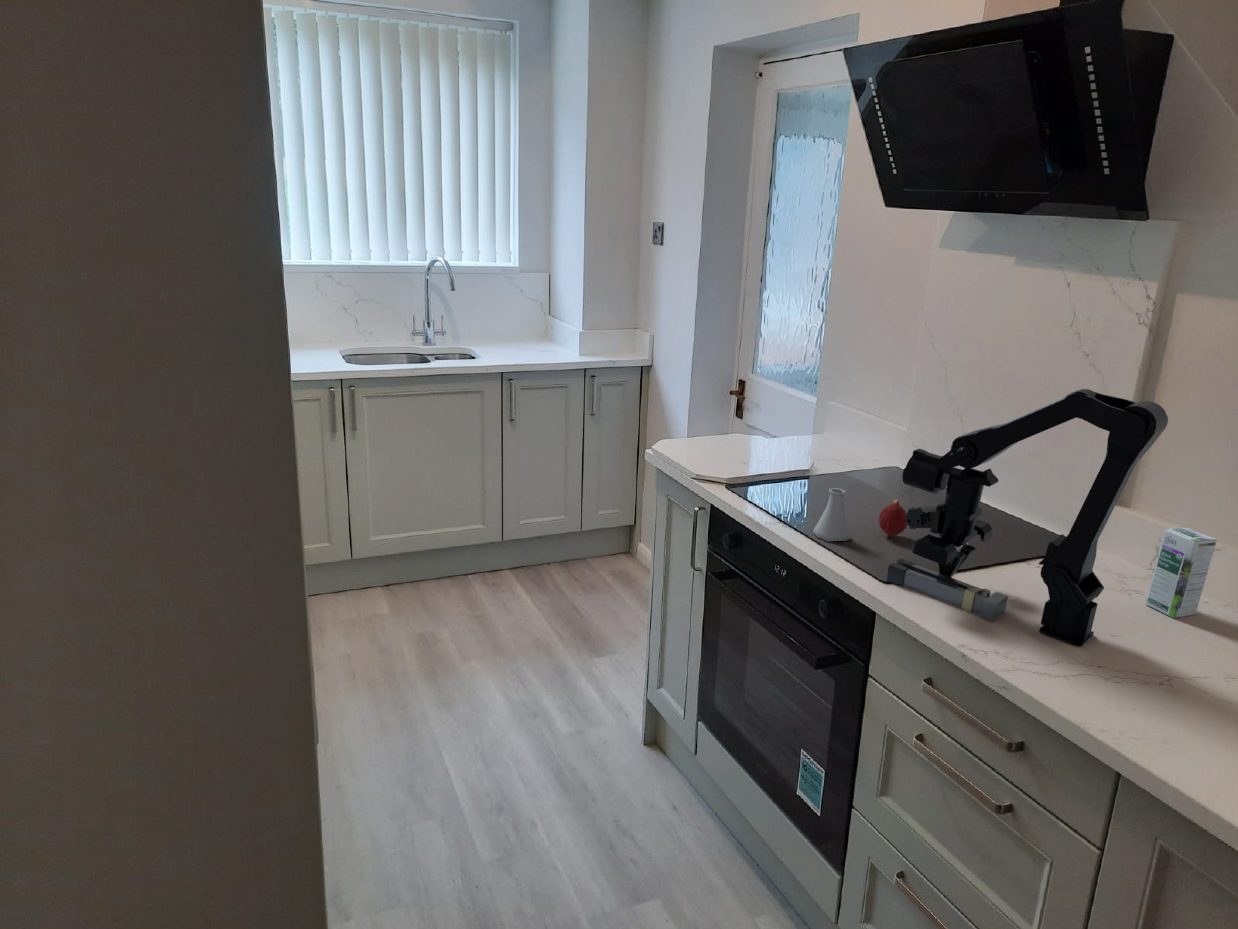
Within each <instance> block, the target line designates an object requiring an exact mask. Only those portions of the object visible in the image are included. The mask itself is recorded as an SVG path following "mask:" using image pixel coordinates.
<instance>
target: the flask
mask: <svg viewBox="0 0 1238 929" xmlns="http://www.w3.org/2000/svg"><path fill="white" fill-rule="evenodd" d="M828 492H829V498H828V502H827V504H826V507H825V510H824V511H823V513H822V514H821V516H820V518H819V519H818V522H817V523H816V524H815V527H814V529H813V530H812V532H813V534H814V536H816V538H819V539H822V540H824V541H827V542H833V541H843V542H845V541H848V540H850V539H851V535H850V533H849V531H850V530H849V528H848V524H847V519H846V514H845V510H844V509H845V507H844V497H845V495H846V494H847V492H846V490H844V489H841V488H839V487H838V488H837V487H835V488H834V487H832V488H828Z"/></svg>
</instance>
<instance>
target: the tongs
mask: <svg viewBox="0 0 1238 929" xmlns="http://www.w3.org/2000/svg"><path fill="white" fill-rule="evenodd" d="M886 580H887V581H886ZM886 580H885V581H886V582H888V581H889V583H891V584H894V585H896V586H899V587H905V588H907V589H910V590H912V591H914V592H915V591H916V592H918V593H921V594H922V595H926V596H929V597H931V598H934V599H937V600H938V601H939V600H940V601H942V602H944V603H948V604H950V605H953V606H956V607H958V608H960V609H961V610H964V611H966V612H968V613H974V614H977V615H980V618H981V619H983V620H986V621H988V622H992V623H993V622H994V621H996V620H997V619H998V618H1000V617H1001V616H1002V615H1004V614H1005V613H1006V608H1007V605H1008V600H1009V595H1007V594H1004V593H1002V592H998V591H995V592H994V593H993V594H990V596H989V597H986V596H983V595H980V594H979V590H978V589H975V588H973V587H969V588H967V589H963V588H960V587H957V586H955V585H952V584H949V583H946V582H943V581H941V580H938V579H935V578H932V577H929V576H927V575H924V574H921V573H918V572H915V571H913V570H910V569H908V568H907V567H904V566H902V565H899V564H897V562H896V563H895V562H892V563H889V564H888V568H887V576H886Z"/></svg>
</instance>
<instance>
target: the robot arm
mask: <svg viewBox="0 0 1238 929" xmlns="http://www.w3.org/2000/svg"><path fill="white" fill-rule="evenodd" d="M1074 419H1080V420H1082V421H1083V420H1084V421H1085V422H1087V423H1089V424H1091V425H1093V426H1095V427H1097V428H1099V429H1101V430H1104V431H1107V432H1109V433H1108V437H1107V443H1106V452H1105V453H1106V454H1105V458H1104V460H1103V463H1102V464H1101V466H1100V468H1099V471H1098V472H1097V474H1096V477H1095V479H1094V481H1093V483H1092V485H1091V486H1090V489H1089V491H1088V493H1087V495H1086V497H1085V500H1084V502H1083V504H1082V506H1081V507H1080V510H1079V511H1078V514H1077V516H1076V517H1075V520H1074V522H1073V524H1072V526H1071V528H1070V530H1069V532H1068V534H1067V535H1065V534H1063V533H1062V534H1060V535H1059V536H1057V537H1055V538H1054V539H1053V540H1051V541H1050V542H1049V543H1048V545H1047V548H1046V551H1045V555H1044V557H1043V558H1042V559H1041V560H1040V561H1039V562H1038V565H1039V566H1040V565H1041V568H1040V578H1041V580H1042V581H1043V583H1044V584H1045V586H1046V587H1047V591H1048V597H1049V599H1048V600H1047V601H1045V603H1044V606H1043V610H1042V616H1041V619H1040V625H1041V627H1039V630H1038V632H1040V633H1042V634H1044V635H1045V636H1049V637H1052V638H1055V639H1057V640H1061V641H1062V642H1066V643H1068V644H1070V645H1073V646H1077V647H1082V646H1083V645H1084V644H1086V642H1088V641H1089V640H1090V639H1091V638H1092V637H1093V636H1094V633H1095V632H1094V631H1093V630H1092V628H1093V626H1094V625H1093V624H1094V622H1095V617H1096V612H1097V608H1098V603H1097V602H1095V601H1093V600H1095V599H1096V598H1098V597H1099V596H1100V595H1101V593H1102V592H1103V591H1104V589H1105V586H1104V585H1103V583H1102V582H1101V581H1100V579H1099V577H1098V576H1097V575H1096V573H1094V571H1093V569H1094V565H1095V562H1096V557H1097V549H1098V541H1099V539H1100V536H1101V535H1102V533H1103V531H1104V528H1105V526H1106V524H1107V523H1108V521H1109V518H1110V517H1111V515H1112V513H1113V511H1114V509H1115V507H1116V505H1117V502H1119V499H1120V497H1121V495H1122V493H1123V490H1124V489H1125V487H1126V485H1127V483H1128V481H1129V479H1130V477H1131V475H1132V474H1133V472H1134V469H1135V467H1136V466H1137V463H1139V462H1140V460H1141V459H1142V458H1143V457H1144V456H1145V454H1146V453H1147V452H1148V451H1149V449H1150V448H1152V446H1153V445H1154V443H1155V442H1156V441H1157V440H1158V438H1160V436H1161V435H1162V434H1163V432H1164V431H1165V430H1166V428H1167V426H1168V423H1169V416H1168V414H1167V412H1166V410H1165V409H1164V408H1163V407H1162V406H1161V405H1160V404H1158V403H1157V402H1154V401H1151V400H1141V401H1138V402H1135V401H1132V400H1129V399H1126V398H1122V397H1117V396H1113V395H1107V394H1103V393H1099V392H1096V391H1094V390H1091V389H1089V388H1081V389H1078V390H1075V391H1072V392H1070V393H1069V394H1067V395H1066V396H1064V397H1062V398H1060V399H1057V400H1055V401H1053V402H1051V403H1049V404H1046V405H1044V406H1043V407H1042V406H1041V407H1039V408H1037V409H1035V410H1033V411H1030V412H1028V413H1027V414H1024V415H1021V416H1020V417H1017V418H1015V419H1012V420H1011V421H1008V422H1005V423H1001V424H997V425H993V426H988V427H984V428H981V429H980V428H979V429H977V430H973V431H971V432H967V433H965V434H962V435H960V436H958V437H956V438H955V439H954V440H953V441H952V444H951V446H950V450H949V451H947V453H945V454H944V455H942V456H941V455H939V454H936V453H932V452H928V450H925V449H923V448H917V449H915V450H913V451H912V455H911V457H910V458H909V460H908V461H907V463H906V465H905V467H904V468H903V472H902V482H903V484H904V485H907V486H910V487H912V488H915V489H919V490H922V491H924V492H928V493H931V494H937V493H939V492H940V491H945V493H944V494H945V495H944V498H943V502H941V503H940V504H938V505H935V506H933V505H932V506H931V505H930V506H929V505H927V506H925V505H924V506H917V507H910V508H908V510H907V511H906V518H904V521H905V522H907V527H909V529H910V530H916V529H930V530H929V532H930V533H932V534H930V533H929V534H927V535H924V536H922V537H921V538H919V539H917V540H915V541H913V544H912V548H911V553H913V554H914V555H916V556H918V557H921V558H924V559H926V560H929V561H932V562H934V563H937V565H938V570H939V571H938V573H940V574H943V575H945V576H948V577H951V578H953V577H954V575H955V574H956V573H957V572H958V570H959V569H960V568H961V567H962V565H963V564H964V563H965V562H966V561H967V560H968V558H969V557H970V556H971V555H972V554H973V552H975V551H976V547H975V546H973V545H970V544H969V543H970V540H973V538H975V537H977V535H978V536H980V542H983V543H986V542H987V541H989V540H991V538H992V533H993V531H994V530H993V529H994V528H992V526H991V525H990V523H989V522H986V521H984V520H980V519H977V518H978V517H980V516H982V513H983V508H980V504H981V499H982V495H983V490H984V487H985V486H986V487H989V488H990V487H992V486H993V485H996V484H998V483H999V479H998V477H997V476H996V475H995V474H994V473H993V470H992V468H987V469H985V470H983V471H982V470H980V469H979V470H978V469H977V467H978V466H981V465H983V464H986V463H988V462H989V461H992V460H993V459H995V458H996V457H998V456H999V455H1001V454H1003V453H1004V452H1005V451H1007V450H1008V449H1010V448H1011V447H1013V446H1014V445H1015V444H1017V443H1018V442H1022V441H1023V440H1025V439H1029V438H1031V437H1033V436H1035V435H1038V434H1040V433H1043V432H1045V431H1048V430H1050V429H1052V428H1054V427H1057V426H1059V425H1062V424H1064V423H1067V422H1069V421H1071V420H1074ZM958 466H959V467H962V468H963V469H962V468H957V467H958ZM933 534H935V535H937V534H939V536H935V535H933Z"/></svg>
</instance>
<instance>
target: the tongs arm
mask: <svg viewBox="0 0 1238 929" xmlns="http://www.w3.org/2000/svg"><path fill="white" fill-rule="evenodd" d="M896 564H899V565H902V566H904V567H907V568H908V569H910V570H913V571H915V572H918V573H921V574H924V575H927V576H929V577H932V578H935V579H938V580H941V581H943V582H946V583H949V584H952V585H955V586H957V587H960V588H963V589H967V588H969V587H973V588H975V589H978V590H979V594H980V595H983V596H986V597H989V596H991V595H992V594H991V593H992V591H991V590H989V589H987V588H980V587H978V586H974V585H972V584H969V583H967V582H964V581H961V580H959V579H956V578H954V577H952V578H951V577H948V576H945V575H943V574H940V572H938V571H934V570H931V569H929V568H926V567H924V566H921V565H918V564H917V563H916V562H915V563H914V562H912V561H910V560H908V559H904V558H900V559H897V560H896Z"/></svg>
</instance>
